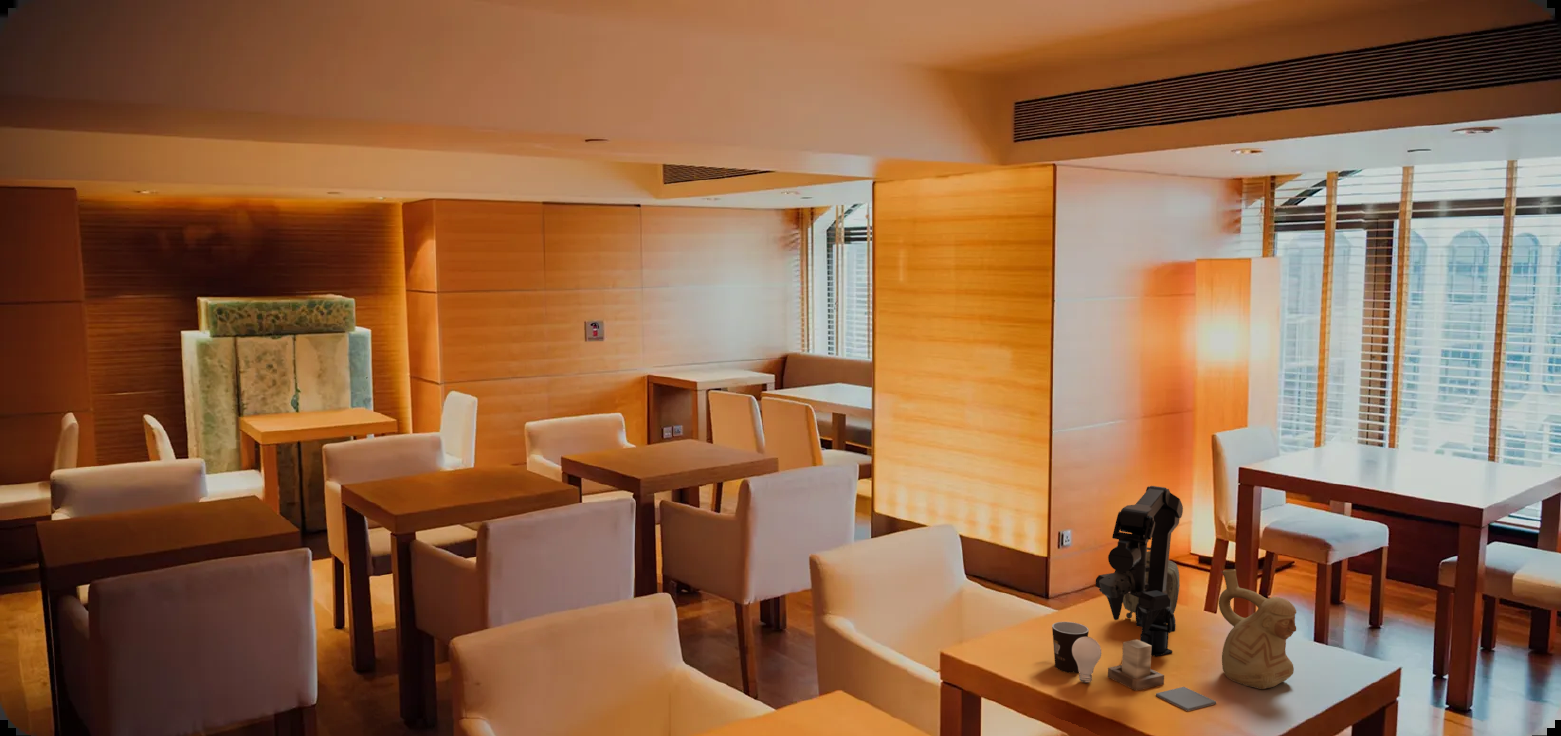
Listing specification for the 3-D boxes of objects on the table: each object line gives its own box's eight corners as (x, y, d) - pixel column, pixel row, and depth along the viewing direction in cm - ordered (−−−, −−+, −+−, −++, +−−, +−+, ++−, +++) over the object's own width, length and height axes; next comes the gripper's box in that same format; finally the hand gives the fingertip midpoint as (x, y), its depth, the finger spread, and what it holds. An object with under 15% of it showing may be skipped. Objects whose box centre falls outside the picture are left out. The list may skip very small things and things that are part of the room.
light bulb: (1095, 690, 235) (1097, 644, 234) (1066, 684, 239) (1068, 638, 238) (1103, 681, 241) (1105, 636, 240) (1075, 674, 244) (1077, 630, 243)
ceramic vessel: (1270, 700, 232) (1277, 593, 229) (1194, 671, 248) (1200, 570, 246) (1313, 685, 240) (1320, 582, 238) (1237, 658, 257) (1243, 561, 255)
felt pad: (1183, 688, 237) (1184, 686, 237) (1216, 703, 229) (1216, 701, 229) (1155, 695, 233) (1156, 693, 233) (1187, 711, 225) (1187, 708, 225)
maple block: (1135, 675, 245) (1137, 639, 244) (1149, 682, 241) (1151, 645, 240) (1121, 678, 243) (1123, 641, 242) (1135, 685, 239) (1137, 648, 238)
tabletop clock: (1177, 623, 282) (1182, 535, 279) (1175, 634, 274) (1180, 542, 271) (1122, 615, 288) (1126, 528, 285) (1119, 625, 279) (1123, 536, 277)
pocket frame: (1134, 670, 248) (1135, 661, 247) (1163, 684, 240) (1164, 674, 240) (1107, 676, 244) (1108, 667, 243) (1136, 690, 236) (1136, 681, 236)
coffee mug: (1088, 675, 244) (1090, 635, 243) (1051, 672, 246) (1053, 632, 245) (1084, 658, 255) (1086, 619, 254) (1048, 654, 257) (1050, 616, 256)
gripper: (1079, 554, 245) (1076, 617, 246) (1136, 576, 228) (1133, 644, 230) (1114, 549, 249) (1111, 611, 251) (1173, 570, 233) (1170, 637, 234)
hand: (1130, 625), depth 241 cm, fingers open, 9 cm apart
